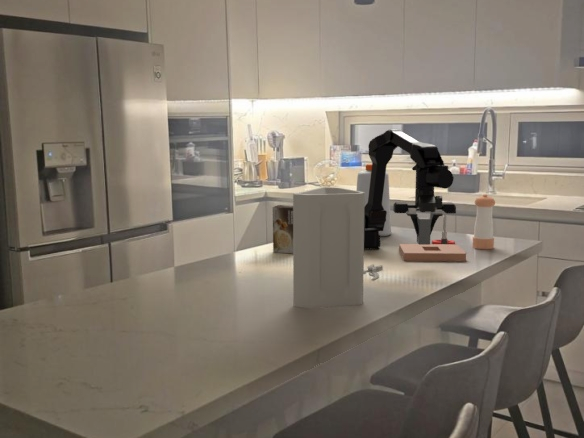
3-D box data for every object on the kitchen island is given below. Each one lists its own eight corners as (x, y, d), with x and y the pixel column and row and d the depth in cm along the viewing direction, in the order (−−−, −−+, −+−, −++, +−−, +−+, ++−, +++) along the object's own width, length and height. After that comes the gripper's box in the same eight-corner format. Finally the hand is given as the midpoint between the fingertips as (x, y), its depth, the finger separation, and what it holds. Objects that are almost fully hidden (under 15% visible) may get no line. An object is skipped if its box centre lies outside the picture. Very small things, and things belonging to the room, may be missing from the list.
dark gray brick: (418, 244, 206) (419, 219, 205) (416, 241, 211) (417, 216, 210) (430, 244, 206) (430, 219, 205) (427, 241, 211) (428, 216, 210)
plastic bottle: (354, 229, 277) (355, 163, 273) (390, 230, 275) (392, 163, 271) (352, 236, 263) (353, 165, 258) (391, 237, 260) (392, 165, 256)
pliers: (342, 272, 195) (362, 262, 208) (342, 277, 195) (362, 267, 208) (373, 276, 190) (392, 266, 203) (373, 281, 191) (392, 271, 203)
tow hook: (431, 242, 252) (432, 245, 243) (432, 208, 251) (433, 210, 242) (453, 243, 251) (455, 246, 242) (455, 209, 249) (457, 211, 240)
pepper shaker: (496, 249, 236) (498, 195, 233) (475, 249, 236) (477, 195, 233) (490, 245, 243) (492, 193, 240) (470, 245, 243) (472, 193, 240)
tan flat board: (404, 260, 217) (404, 253, 217) (398, 250, 233) (399, 243, 233) (465, 261, 216) (466, 253, 216) (456, 251, 232) (456, 244, 232)
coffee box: (303, 251, 233) (303, 205, 231) (296, 254, 227) (296, 208, 225) (279, 249, 237) (279, 204, 234) (272, 252, 231) (271, 206, 229)
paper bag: (348, 313, 158) (349, 197, 154) (292, 306, 165) (291, 194, 160) (374, 294, 175) (375, 189, 171) (322, 288, 182) (323, 186, 177)
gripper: (397, 188, 199) (396, 239, 201) (460, 188, 198) (458, 239, 200) (393, 184, 210) (392, 233, 212) (453, 184, 209) (451, 233, 211)
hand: (423, 235), depth 208 cm, fingers closed on dark gray brick, 3 cm apart
